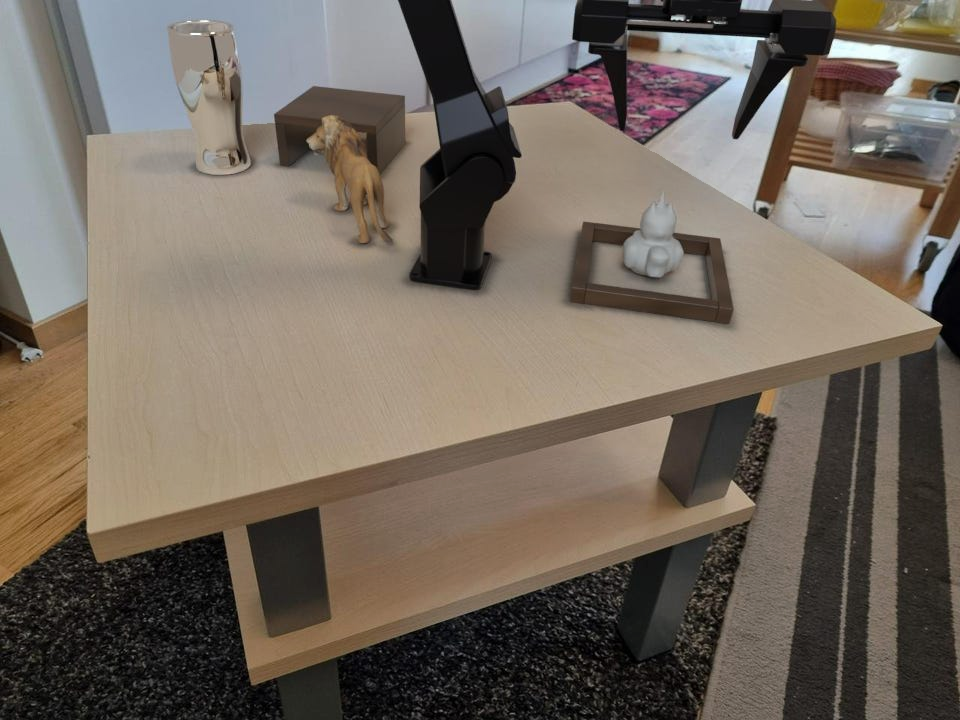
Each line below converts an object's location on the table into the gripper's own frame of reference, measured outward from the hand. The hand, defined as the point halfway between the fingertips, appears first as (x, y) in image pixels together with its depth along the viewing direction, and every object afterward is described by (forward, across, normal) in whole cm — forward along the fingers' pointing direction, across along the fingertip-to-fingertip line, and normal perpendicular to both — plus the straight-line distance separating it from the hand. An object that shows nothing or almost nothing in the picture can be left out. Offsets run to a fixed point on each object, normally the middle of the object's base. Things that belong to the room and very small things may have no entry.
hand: (677, 133), depth 59 cm
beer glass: (+12, +49, -13) cm, 52 cm away
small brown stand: (+12, +37, -21) cm, 44 cm away
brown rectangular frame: (+13, 0, +1) cm, 13 cm away
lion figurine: (+12, +30, -4) cm, 33 cm away
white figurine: (+13, 0, +1) cm, 13 cm away
